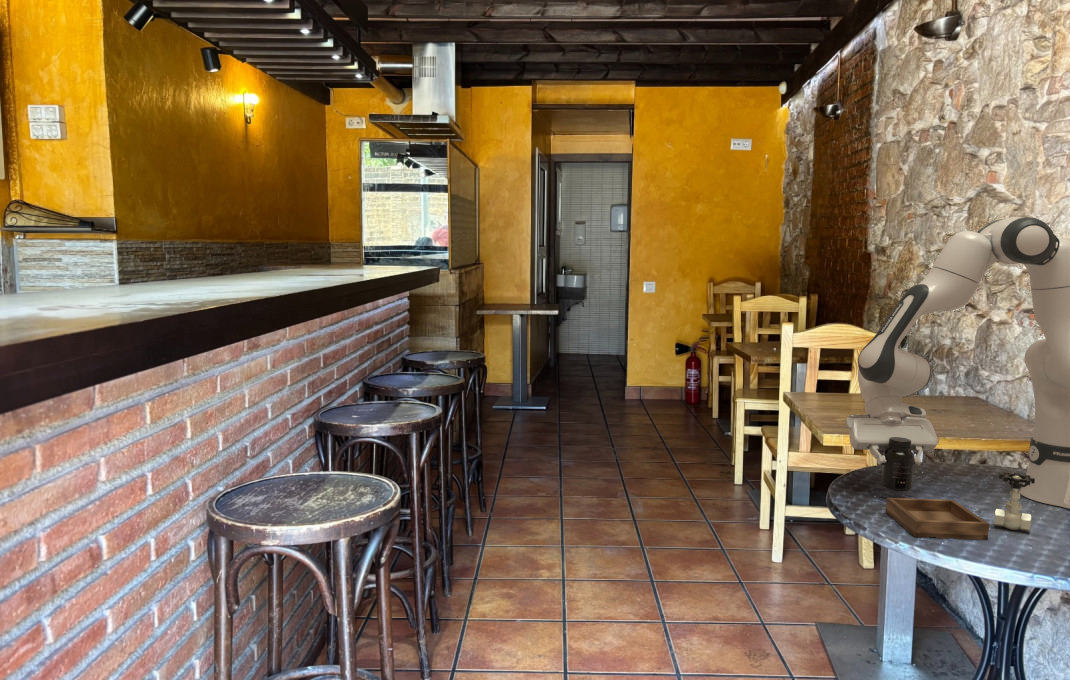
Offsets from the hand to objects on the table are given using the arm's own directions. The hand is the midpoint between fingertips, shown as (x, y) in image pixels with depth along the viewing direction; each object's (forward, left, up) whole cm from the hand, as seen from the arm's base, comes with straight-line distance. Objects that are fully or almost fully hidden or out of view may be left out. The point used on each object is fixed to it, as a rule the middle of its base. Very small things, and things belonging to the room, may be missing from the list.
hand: (899, 464), depth 184 cm
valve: (-17, +18, -9) cm, 26 cm away
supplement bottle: (0, -1, -6) cm, 6 cm away
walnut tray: (-1, +17, -9) cm, 19 cm away
